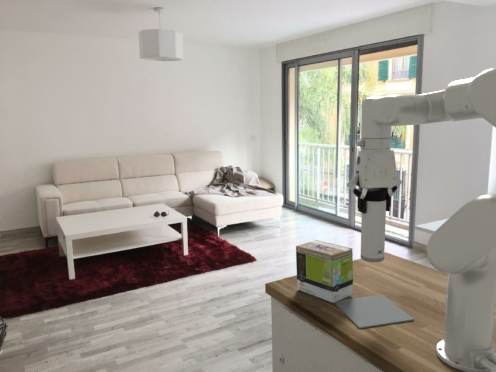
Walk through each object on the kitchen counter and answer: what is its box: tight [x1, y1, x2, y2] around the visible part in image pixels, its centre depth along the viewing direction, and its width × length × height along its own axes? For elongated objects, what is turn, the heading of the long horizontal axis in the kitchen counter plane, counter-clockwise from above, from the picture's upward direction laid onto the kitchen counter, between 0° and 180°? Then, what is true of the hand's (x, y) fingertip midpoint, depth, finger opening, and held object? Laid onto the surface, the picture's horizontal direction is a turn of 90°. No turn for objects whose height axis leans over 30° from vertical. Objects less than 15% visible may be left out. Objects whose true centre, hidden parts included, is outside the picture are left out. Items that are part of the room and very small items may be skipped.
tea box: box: [295, 239, 354, 304], centre depth 128 cm, size 15×10×15 cm, turn 38°
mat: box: [333, 294, 415, 330], centre depth 117 cm, size 16×16×1 cm
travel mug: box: [360, 188, 388, 263], centre depth 113 cm, size 6×7×20 cm
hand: (373, 210), depth 112 cm, fingers closed on travel mug, 6 cm apart
